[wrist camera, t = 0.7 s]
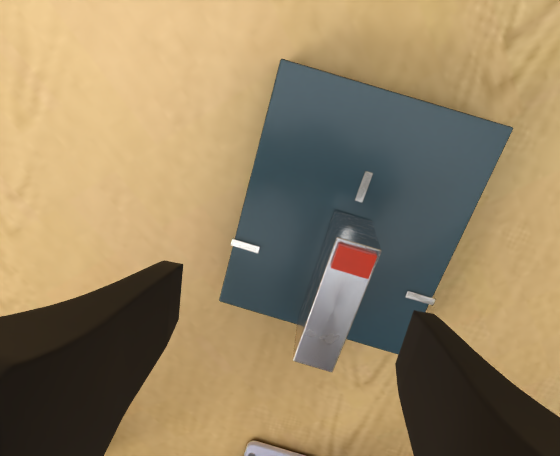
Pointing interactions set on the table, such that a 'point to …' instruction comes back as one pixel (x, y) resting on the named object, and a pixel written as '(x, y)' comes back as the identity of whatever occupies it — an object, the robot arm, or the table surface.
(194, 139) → the table surface
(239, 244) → the tap console
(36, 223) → the table surface
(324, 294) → the tap handle
